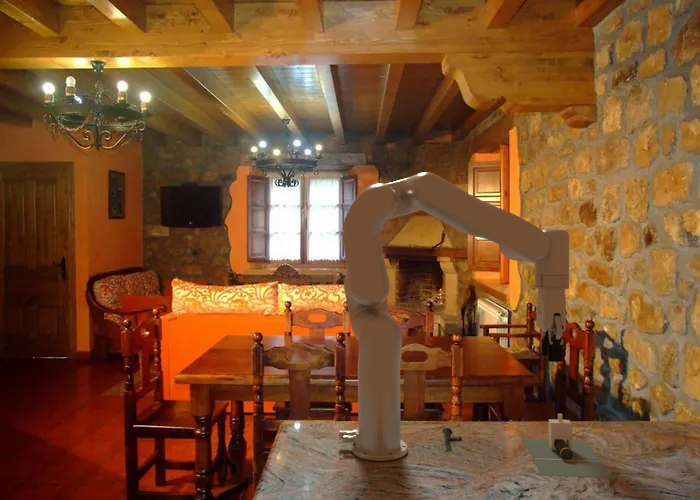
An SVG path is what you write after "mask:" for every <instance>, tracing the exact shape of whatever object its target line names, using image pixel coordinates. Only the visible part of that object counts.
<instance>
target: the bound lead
mask: <svg viewBox="0 0 700 500" xmlns="http://www.w3.org/2000/svg"><path fill="white" fill-rule="evenodd" d="M554 445H555V447H556V449H557V450H558V452H559V453H560V455H561V457H562V458H563V459H564V460H570V459H572V457H573V452H572V451H571V449H570V448H569V447H568V445H567V444H566V442H565V441H564V439H554Z"/></svg>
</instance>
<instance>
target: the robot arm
mask: <svg viewBox="0 0 700 500" xmlns="http://www.w3.org/2000/svg"><path fill="white" fill-rule="evenodd" d="M420 211H423V212H425V213H426V214H428V215H430V216H432V217H434V218H436V219H438V220H439V221H441V222H442V223H445V225H448V226H450V228H453V229H455V230H456V231H458V232H460V233H463V234H466V235H468V236H473V237H477V238H481V239H484V240H487V241H490V242H492V243H495V244H497V245H498V248H499V251H500V252H501V255H503V256H504V257H505V258H507V259H509V260H512V261H515V262H529V263H534V271H535V272H534V273H535V274H534V275H535V278H534V284H535V285H534V287H535V289H537V298H536V299H537V300H536V320H535V323H536V326H537V327H538V328H539V329H540V330H541V356H546V357H547V361H548V362H549V363H550V362H551V363H563V361H564V351H563V350H564V346H563V345H564V344H563V343H564V342H563V341H564V338H563V333H564V332H565V331H566V327H567V306H566V305H567V302H566V300H567V299H566V290H569V289H570V234H569V231H567V230H565V229H555V228H554V229H552V228H551V229H542V228H540V227H538V226H536V225H534V224H532V223H531V222H529V221H527V220H526V219H524V218H523V217H520V216H519V215H516V214H514V213H513V212H510V211H507V210H505V209H503V208H500V207H498V206H495V205H493V204H492V203H489V202H486V201H484V200H481V199H480V198H478V197H476V196H474V195H473V194H471V193H469V192H467V191H466V190H463V189H461V188H460V187H458V186H456V185H455V184H453V183H452V182H450V181H448V180H446V179H444V178H443V177H441V176H439V175H438V174H435V173H432V172H429V171H427V172H426V171H424V172H420V173H419V172H418V173H417V174H414V175H412V176H409V177H407V178H403V179H399V180H396V181H393V182H388V183H380V182H379V183H374V184H371V185H369V186H367V187H366V188H363V189H362V190H361V191H360V192H359V193H358V194H357V196H356V198H355V199H354V200H353V202H352V204H351V205H350V206H349V209H348V210H347V213H346V215H345V218H344V221H343V226H342V242H343V250H344V251H343V252H344V256H345V257H344V258H345V262H346V263H345V264H346V268H347V269H346V270H347V271H346V273H345V275H344V278H343V290H344V295H345V300H346V306H347V311H348V316H349V321H350V325H351V329H352V333H353V335H354V337H355V339H356V340H357V341H358V358H357V361H358V362H357V389H358V391H357V398H358V399H357V400H358V402H357V404H358V406H357V407H358V409H357V410H358V411H357V412H358V413H357V414H358V415H357V416H358V423H357V424H358V425H357V429H355V428H354V429H353V430H345V429H343V430H342V429H340V430H339V432H338V438H339V439H340V440H342V442H343V443H352V444H351V452H352V454H353V455H355V456H356V457H357V458H359V459H363V460H366V461H367V460H368V461H374V462H388V461H395V460H397V459H400V458H403V457H404V456H405V455H406V454H407V453H408V444H407V443H406V442H405V441H404V440H402V439H401V358H402V357H401V355H402V350H403V349H402V347H403V332H402V328H401V325H400V323H399V322H398V320H397V319H396V318H395V317H394V316H393V315H392V314H390V313H389V310H388V303H387V300H386V299H387V298H388V296H389V294H390V289H391V287H390V285H391V284H390V279H389V276H388V270H387V266H386V262H385V257H384V256H385V255H384V251H383V244H382V243H383V242H382V231H383V228H384V226H385V224H386V222H387V221H388V220H391V219H395V218H399V217H402V216H406V215H410V214H413V213H416V212H420Z"/></svg>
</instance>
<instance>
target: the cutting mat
mask: <svg viewBox="0 0 700 500" xmlns="http://www.w3.org/2000/svg"><path fill="white" fill-rule="evenodd" d="M522 440H523V442H524V444H525V446H526V449H527V450H528V452H529V454H530V457H531V459H532V460H533V462H534V465H535V466H536V468H537V471H538V473H539V474H540V476H550V477H551V476H555V477H578V478H595V479H596V478H598V479H599V478H601V479H615V476H614V475H613V474H612V473H611V471H610V470H609V468H607V466H606V465H605V464H604V462H602V460H601V459H600V458H599V456H598V455H597V454H596V452H594V450H593V449H592V448H591V446H590V445H589V444H588V442H587V441H586V440H574V439H572V440H571V451H572V452H573V457H572V459H570V460H564V459H563V458H562V457H561V455H560V453H559V452H558V450H557V449H556V447H555V445H554V450H551V448H550V446H549V438H548V439H547V438H546V439H543V438H522ZM563 440H564V439H563ZM564 441H565V442H566V440H564Z"/></svg>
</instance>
